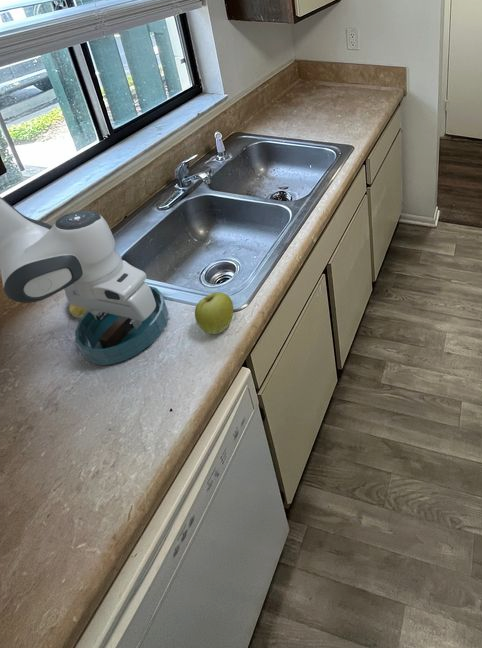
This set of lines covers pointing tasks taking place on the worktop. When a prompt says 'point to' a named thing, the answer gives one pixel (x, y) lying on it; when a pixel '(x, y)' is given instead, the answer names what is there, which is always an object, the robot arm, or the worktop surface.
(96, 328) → the bowl
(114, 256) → the robot arm
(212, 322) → the apple
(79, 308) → the bread roll
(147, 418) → the worktop surface
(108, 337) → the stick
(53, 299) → the worktop surface
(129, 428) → the worktop surface
